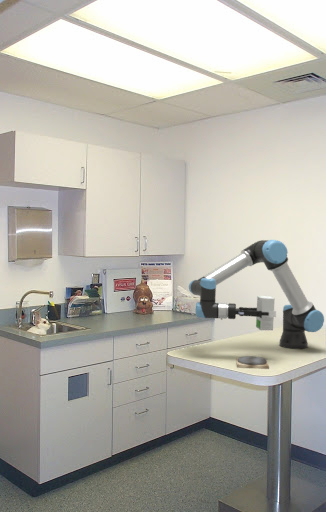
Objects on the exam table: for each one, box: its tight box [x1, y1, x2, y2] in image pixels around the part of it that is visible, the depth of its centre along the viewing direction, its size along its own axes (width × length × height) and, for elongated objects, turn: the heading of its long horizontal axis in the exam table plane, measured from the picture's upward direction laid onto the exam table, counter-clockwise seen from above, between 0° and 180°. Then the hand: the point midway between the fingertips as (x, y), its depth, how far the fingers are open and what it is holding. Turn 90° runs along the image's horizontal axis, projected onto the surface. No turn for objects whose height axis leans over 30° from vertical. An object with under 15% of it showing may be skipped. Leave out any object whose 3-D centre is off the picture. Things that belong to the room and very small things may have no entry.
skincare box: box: [255, 295, 275, 331], centre depth 233 cm, size 8×7×16 cm
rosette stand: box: [235, 355, 270, 370], centre depth 223 cm, size 14×14×2 cm
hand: (274, 312), depth 233 cm, fingers closed on skincare box, 9 cm apart
